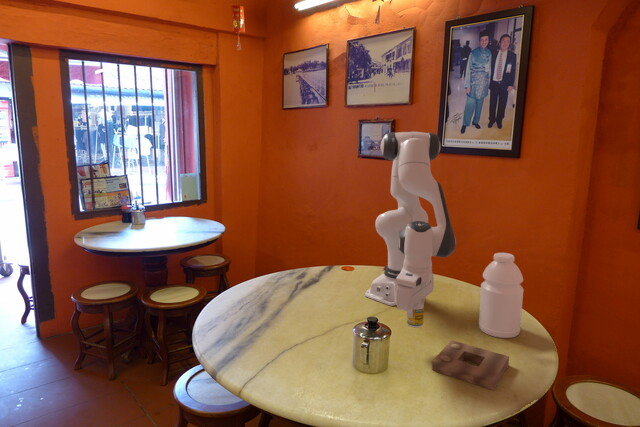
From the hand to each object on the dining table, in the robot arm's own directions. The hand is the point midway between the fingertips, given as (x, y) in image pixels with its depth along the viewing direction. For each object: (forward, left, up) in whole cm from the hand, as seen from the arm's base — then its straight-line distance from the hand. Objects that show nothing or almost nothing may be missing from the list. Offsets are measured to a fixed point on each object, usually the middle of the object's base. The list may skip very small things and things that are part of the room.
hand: (415, 313), depth 142 cm
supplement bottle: (0, 0, -4) cm, 4 cm away
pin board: (+19, 0, -13) cm, 23 cm away
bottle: (+19, +31, -13) cm, 38 cm away
